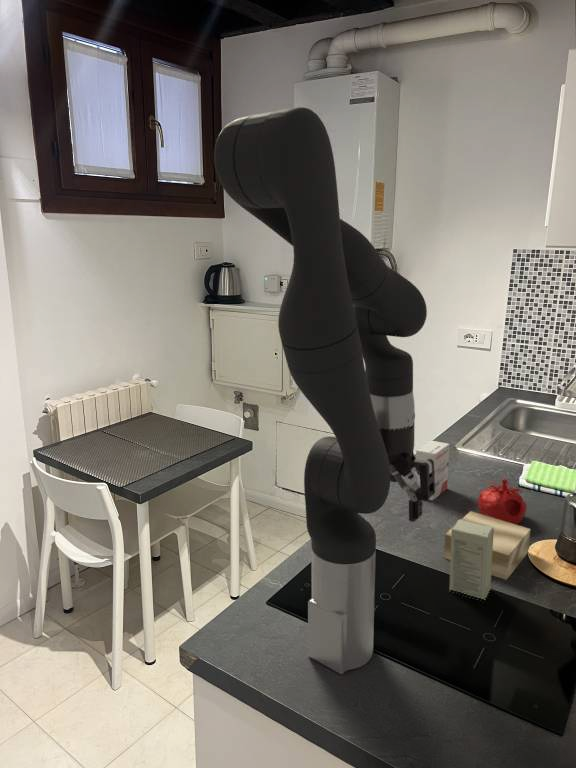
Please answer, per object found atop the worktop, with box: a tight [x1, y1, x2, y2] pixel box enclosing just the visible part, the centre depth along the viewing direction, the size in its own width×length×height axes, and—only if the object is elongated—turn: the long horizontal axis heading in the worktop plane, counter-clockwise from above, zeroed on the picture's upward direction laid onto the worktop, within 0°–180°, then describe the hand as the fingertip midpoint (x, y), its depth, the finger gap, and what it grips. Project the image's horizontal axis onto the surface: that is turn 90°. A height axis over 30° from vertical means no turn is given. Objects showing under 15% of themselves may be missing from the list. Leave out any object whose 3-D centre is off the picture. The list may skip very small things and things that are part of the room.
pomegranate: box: [477, 478, 528, 525], centre depth 125 cm, size 10×10×9 cm
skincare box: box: [449, 518, 494, 601], centre depth 100 cm, size 6×4×12 cm
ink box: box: [414, 440, 450, 501], centre depth 138 cm, size 9×5×12 cm, turn 141°
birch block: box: [443, 510, 531, 581], centre depth 112 cm, size 12×12×5 cm
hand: (390, 511), depth 93 cm, fingers open, 8 cm apart
